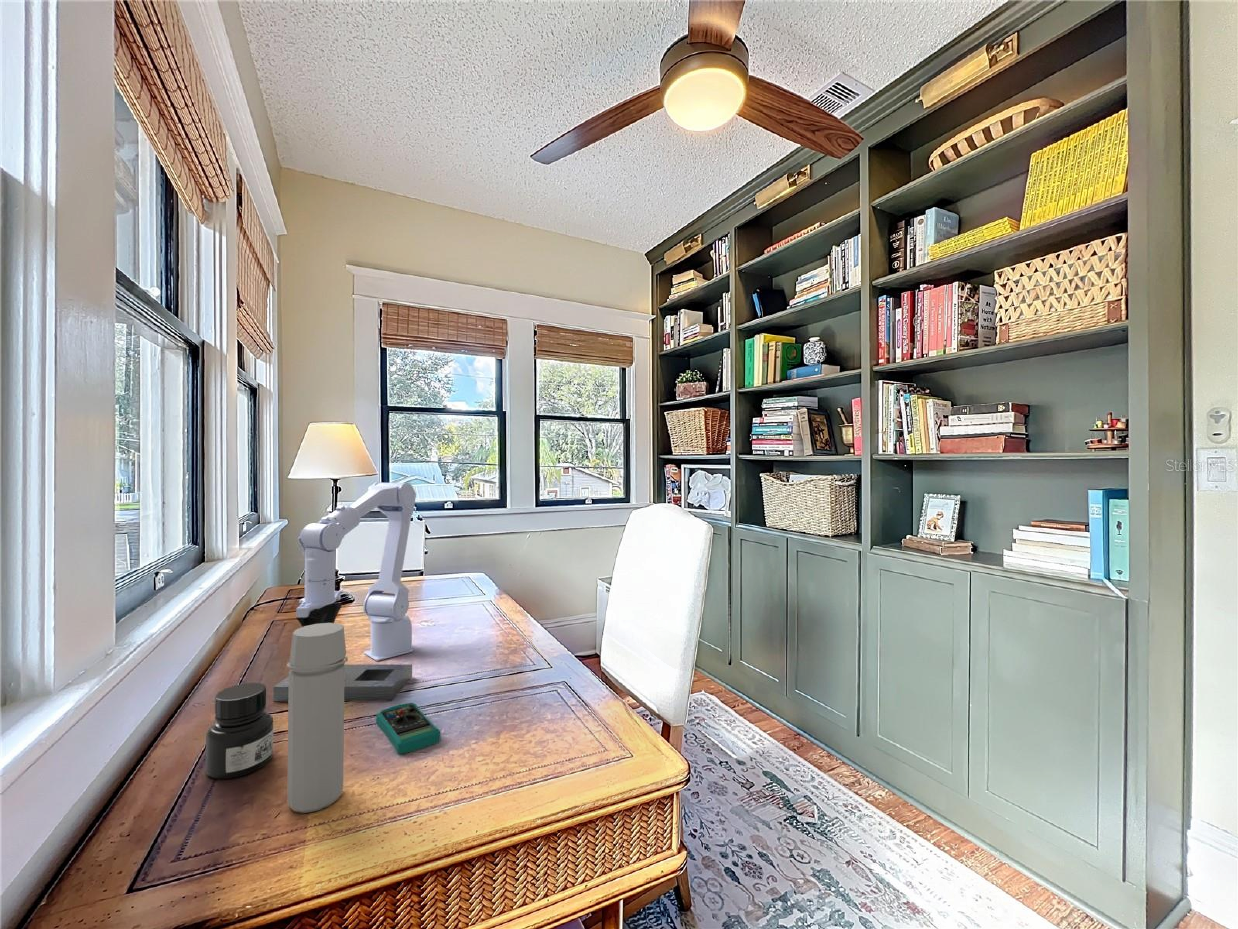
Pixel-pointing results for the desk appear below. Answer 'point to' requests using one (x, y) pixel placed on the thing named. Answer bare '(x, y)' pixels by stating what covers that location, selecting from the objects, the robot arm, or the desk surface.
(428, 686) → the desk surface
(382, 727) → the digital multimeter
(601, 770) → the desk surface
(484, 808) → the desk surface
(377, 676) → the jack panel
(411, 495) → the robot arm
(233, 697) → the ink bottle
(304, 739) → the water bottle
